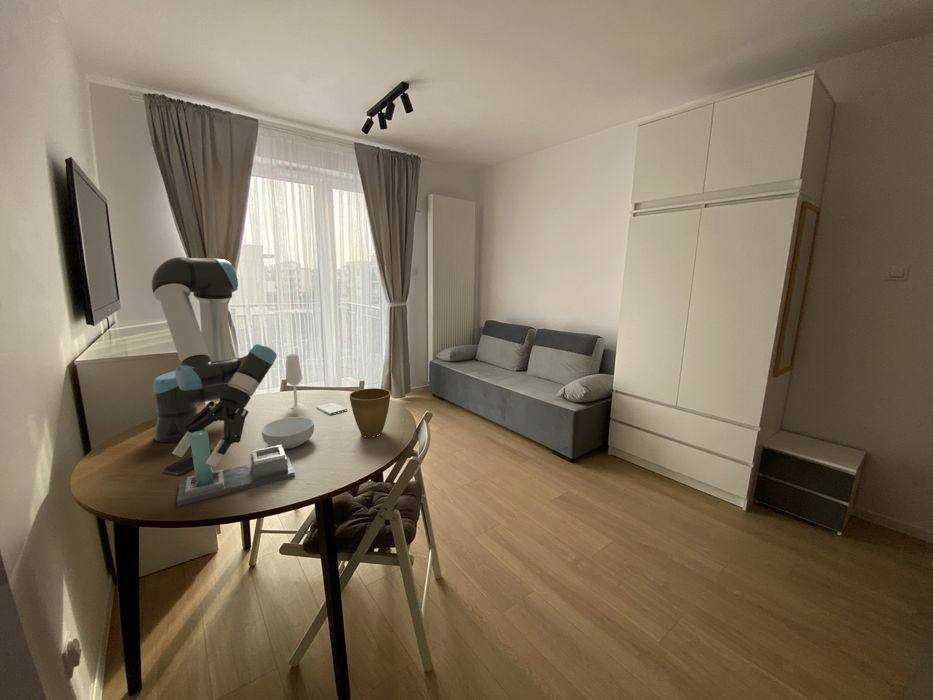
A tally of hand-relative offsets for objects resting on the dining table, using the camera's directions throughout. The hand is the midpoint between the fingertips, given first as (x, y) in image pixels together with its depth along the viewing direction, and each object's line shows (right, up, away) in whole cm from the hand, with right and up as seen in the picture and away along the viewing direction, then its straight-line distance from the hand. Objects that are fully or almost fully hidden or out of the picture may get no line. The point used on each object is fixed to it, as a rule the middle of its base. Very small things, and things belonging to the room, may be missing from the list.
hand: (193, 460), depth 102 cm
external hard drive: (+14, +2, +67) cm, 68 cm away
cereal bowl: (+11, -4, +32) cm, 34 cm away
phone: (-13, -7, +19) cm, 24 cm away
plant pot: (+38, -2, +42) cm, 56 cm away
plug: (+1, -8, +4) cm, 8 cm away
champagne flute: (-4, +4, +70) cm, 70 cm away
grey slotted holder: (+8, -8, +8) cm, 14 cm away
